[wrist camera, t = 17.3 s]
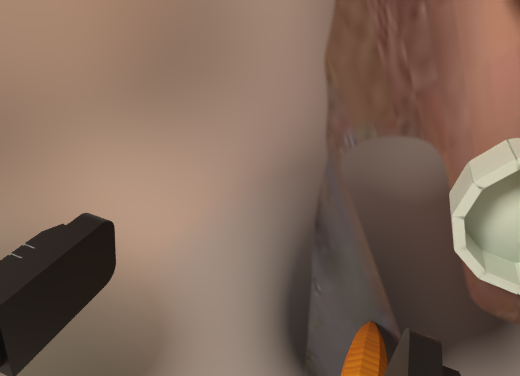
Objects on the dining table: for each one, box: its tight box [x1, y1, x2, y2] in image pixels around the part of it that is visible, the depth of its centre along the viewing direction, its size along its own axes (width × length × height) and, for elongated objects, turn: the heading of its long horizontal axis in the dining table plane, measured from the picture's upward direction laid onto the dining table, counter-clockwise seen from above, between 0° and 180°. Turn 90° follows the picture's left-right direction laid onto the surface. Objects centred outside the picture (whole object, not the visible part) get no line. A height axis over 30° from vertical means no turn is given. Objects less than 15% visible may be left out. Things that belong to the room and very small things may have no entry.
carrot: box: [341, 321, 387, 376], centre depth 46 cm, size 5×5×15 cm
